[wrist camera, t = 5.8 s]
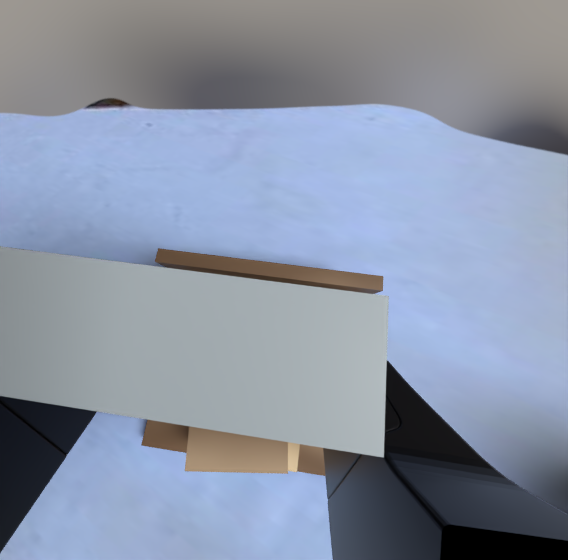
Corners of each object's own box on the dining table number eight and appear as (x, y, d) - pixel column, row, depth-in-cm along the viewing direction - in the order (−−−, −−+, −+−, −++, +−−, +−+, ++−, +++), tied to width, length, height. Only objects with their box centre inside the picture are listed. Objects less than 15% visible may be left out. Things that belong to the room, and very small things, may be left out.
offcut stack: (295, 459, 16) (297, 490, 13) (195, 443, 16) (175, 469, 13) (304, 373, 17) (308, 383, 14) (212, 359, 17) (196, 366, 14)
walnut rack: (348, 471, 16) (373, 533, 11) (149, 438, 17) (94, 483, 12) (358, 288, 19) (383, 276, 14) (189, 267, 20) (158, 248, 15)
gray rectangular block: (301, 344, 14) (383, 458, 2) (214, 332, 15) (-168, 368, 2) (303, 320, 15) (388, 295, 2) (219, 309, 15) (-95, 233, 3)
